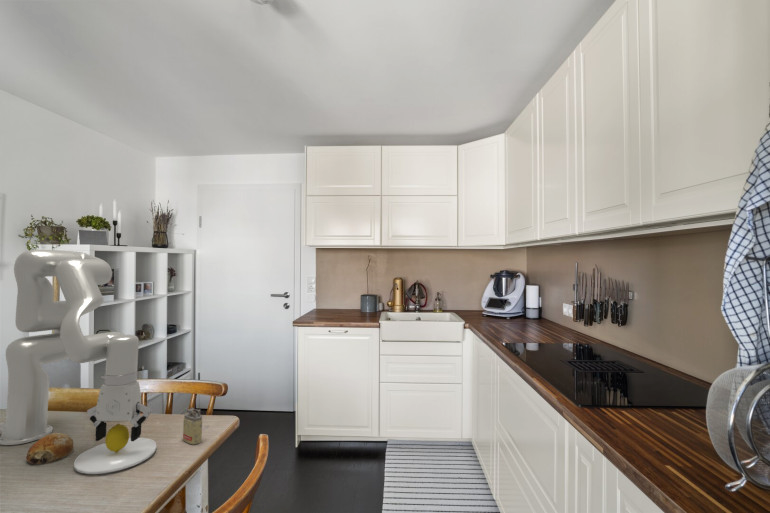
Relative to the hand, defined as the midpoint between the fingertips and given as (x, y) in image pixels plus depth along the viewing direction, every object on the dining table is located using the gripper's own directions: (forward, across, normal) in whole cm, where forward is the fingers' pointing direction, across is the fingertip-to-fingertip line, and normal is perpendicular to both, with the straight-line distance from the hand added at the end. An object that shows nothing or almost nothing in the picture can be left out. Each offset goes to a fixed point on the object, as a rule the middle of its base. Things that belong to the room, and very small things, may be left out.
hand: (118, 439), depth 106 cm
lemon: (+4, 0, 0) cm, 4 cm away
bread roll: (+6, -19, +1) cm, 20 cm away
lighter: (+6, +16, +11) cm, 20 cm away
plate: (+5, 0, 0) cm, 5 cm away
